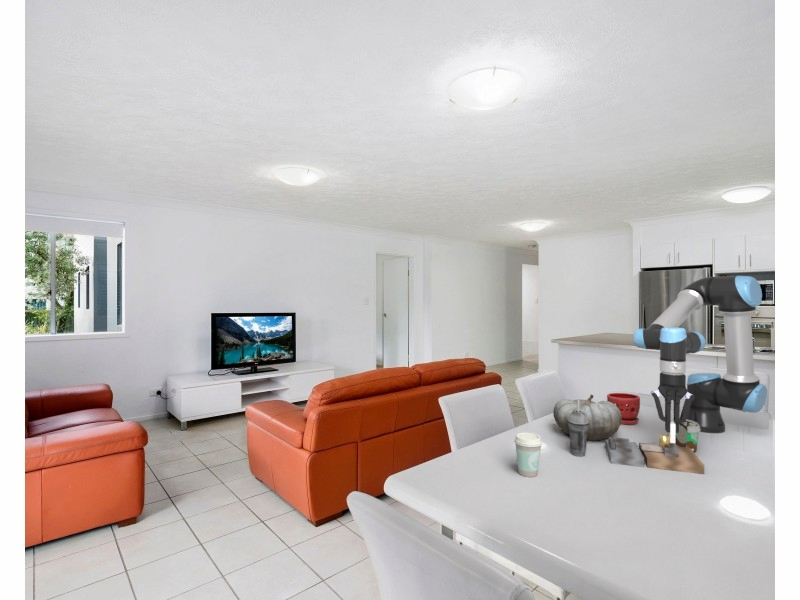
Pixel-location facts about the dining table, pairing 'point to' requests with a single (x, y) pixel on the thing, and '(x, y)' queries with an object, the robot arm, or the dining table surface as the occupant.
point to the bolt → (663, 442)
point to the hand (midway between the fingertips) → (671, 441)
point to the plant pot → (629, 411)
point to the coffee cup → (528, 453)
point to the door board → (653, 456)
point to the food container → (688, 435)
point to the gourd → (590, 416)
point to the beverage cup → (578, 432)
